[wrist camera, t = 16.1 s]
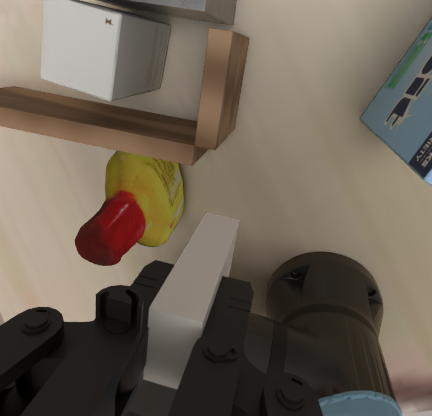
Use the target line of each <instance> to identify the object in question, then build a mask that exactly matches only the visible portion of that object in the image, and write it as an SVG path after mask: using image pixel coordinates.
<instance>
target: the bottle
mask: <svg viewBox="0 0 432 416" xmlns="http://www.w3.org/2000/svg"><path fill="white" fill-rule="evenodd" d="M105 193H106V200H105V202H104V203H103V205H102V207H101V209H100V210H99V211H98V212H97V213H96V214H95V215H94V216H93V217H92V218H91V219H90V220H89V221H88V222H86V223H85V224H84V225H83V226H82V227H81V228H80V230H79V232H78V234H77V236H76V238H75V245H76V248H77V251H78V253H79V254H80V255H81V257H83V258H84V259H86V260H87V261H89V262H92V263H94V264H97V265H102V266H110V265H115V264H117V263H118V262H119V261H120V260H121V257H122V256H123V255H124V254H125V253H126V252H128V251H129V249H130V248H131V247H132V246H134V245H135V244H136V242H137V243H139V244H141V245H144V246H148V247H157V246H159V245H161V244H163V243H165V242H166V241H167V240H168V238H169V237H170V235H171V233H172V231H173V230H174V228H175V227H176V225H177V223H178V221H179V219H180V217H181V215H182V213H183V208H184V194H183V180H182V177H181V174H180V169H179V164H178V163H175V162H171V161H166V160H161V159H156V158H151V157H147V156H142V155H137V154H132V153H127V152H123V151H117V152H116V153H115V154H114V155H113V156H112V157H111V159H110V160H109V162H108V164H107V167H106V184H105Z"/></svg>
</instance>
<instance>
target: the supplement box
mask: <svg viewBox="0 0 432 416" xmlns="http://www.w3.org/2000/svg"><path fill="white" fill-rule="evenodd" d="M170 29H171V25H168V24H165V23H162V22H159V21H156V20H153V19H150V18H146V17H143V16H140V15H136V14H133V13H129V12H125V11H122V10H117V9H113V8H109V7H105V6H100V5H96V4H92V3H88V2H84V1H79V0H43V16H42V44H41V71H40V78H41V79H43V80H46V81H50V82H53V83H56V84H59V85H62V86H65V87H68V88H71V89H74V90H77V91H79V92H82V93H85V94H88V95H91V96H94V97H97V98H100V99H103V100H106V101H108V102H111V101H114V100H117V99H120V98H124V97H128V96H132V95H136V94H140V93H144V92H148V91H152V90H155V89H159V88H160V85H161V80H162V75H163V69H164V64H165V58H166V52H167V47H168V41H169V35H170Z"/></svg>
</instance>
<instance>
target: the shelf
mask: <svg viewBox="0 0 432 416" xmlns="http://www.w3.org/2000/svg"><path fill="white" fill-rule="evenodd" d="M248 44H249V38H248V37H245V36H243V35H240V34H238V33H235V32H232V31H226V30H219V29H213V28H209V33H208V41H207V49H206V57H205V66H204V74H203V82H202V90H201V98H200V106H199V115H198V122H197V121H192V120H186V119H181V118H176V117H171V116H165V115H160V114H155V113H150V112H144V111H139V110H134V109H129V108H123V107H118V106H113V105H108V104H102V103H97V102H92V101H87V100H81V99H76V98H71V97H66V96H60V95H55V94H50V93H45V92H40V91H34V90H29V89H24V88H19V87H4V88H0V126H3V127H7V128H12V129H17V130H22V131H27V132H31V133H36V134H41V135H46V136H51V137H55V138H60V139H65V140H70V141H75V142H79V143H84V144H89V145H94V146H99V147H103V148H108V149H113V150H118V151H123V152H127V153H132V154H137V155H142V156H147V157H151V158H156V159H161V160H166V161H171V162H175V163H180V164H185V165H190V166H193V165H194V164H195V163H196V162H197V161H198V160H199V159H200V158H201V157H202V155H203V154H204V153H205V152H206V151H207V150H208V149H213V150H216V149H217V147H218V146H219V145H220V144H221V143H222V142H223V141H224V140H225V139H226V137H227V136H228V135H229V134H230V133H231V132H232V131H233V130H234V128H235V122H236V116H237V110H238V104H239V98H240V92H241V86H242V80H243V74H244V68H245V62H246V56H247V50H248Z"/></svg>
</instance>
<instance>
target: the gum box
mask: <svg viewBox="0 0 432 416" xmlns="http://www.w3.org/2000/svg"><path fill="white" fill-rule="evenodd" d="M360 120H361V121H362V122H363V123H364V124H365V125H366V126H367V127H368V128H369V129H370V130H371V131H372V132H373V133H374V134H375V135H377V136H378V137H379V138H380V139H381V140H382V141H383V142H384V143H385V144H386V145H387V146H388V147H389V148H390V149H391V150H393V151H394V152H395V153H396V154H397V155H398V156H399V157H400V158H401V159H402V160H403V161H404V162H405V163H406V164H407V165H408V166H409V167H410V168H411V169H412V170H413V171H414V172H415V173H417V174H418V175H419V176H420V177H421V178H422V179H423V180H424V181H425V182H427V183H428V184H430V185H431V186H432V18H431V19H430V21H429V22H428V24H427V25H426V26H425V28H424V29H423V31H422V32H421V33H420V35H419V36H418V38H417V39H416V40H415V42H414V43H413V45H412V46H411V47H410V49H409V50H408V52H407V53H406V54H405V56H404V57H403V59H402V60H401V61H400V63H399V64H398V66H397V67H396V68H395V70H394V71H393V73H392V74H391V75H390V77H389V78H388V80H387V81H386V82H385V84H384V85H383V87H382V88H381V90H380V91H379V92H378V94H377V95H376V97H375V98H374V99H373V101H372V102H371V104H370V105H369V106H368V108H367V109H366V111H365V112H364V114H363V115H362V116H361V118H360Z"/></svg>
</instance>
